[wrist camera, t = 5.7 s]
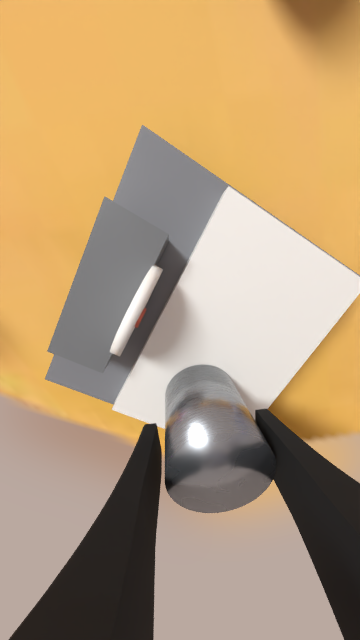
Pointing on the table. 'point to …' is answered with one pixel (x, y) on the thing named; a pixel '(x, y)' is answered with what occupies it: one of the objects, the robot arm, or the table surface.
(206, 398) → the cylinder
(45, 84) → the table surface
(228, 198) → the scale
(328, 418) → the table surface
